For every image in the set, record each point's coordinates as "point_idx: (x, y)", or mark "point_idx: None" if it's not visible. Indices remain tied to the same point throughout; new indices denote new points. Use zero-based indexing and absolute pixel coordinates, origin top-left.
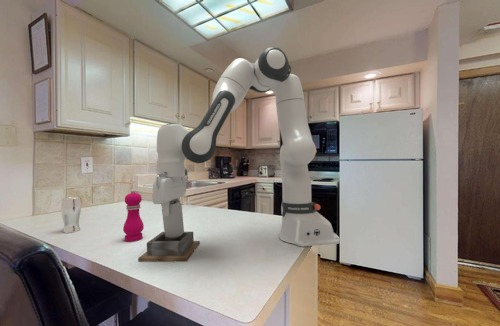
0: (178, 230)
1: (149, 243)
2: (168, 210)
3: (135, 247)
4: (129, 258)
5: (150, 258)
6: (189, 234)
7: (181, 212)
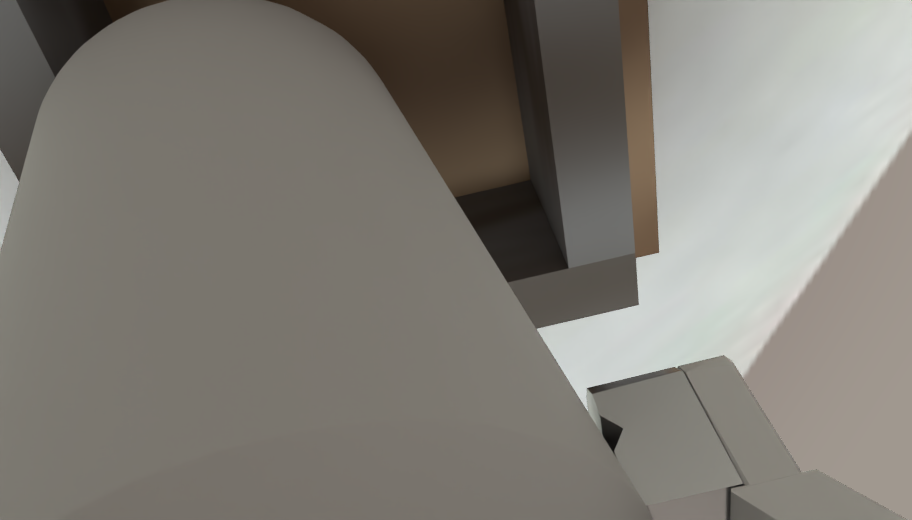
0: (327, 55)
1: (635, 270)
2: (793, 468)
3: None
4: (582, 350)
5: (651, 132)
6: None
7: (194, 245)
